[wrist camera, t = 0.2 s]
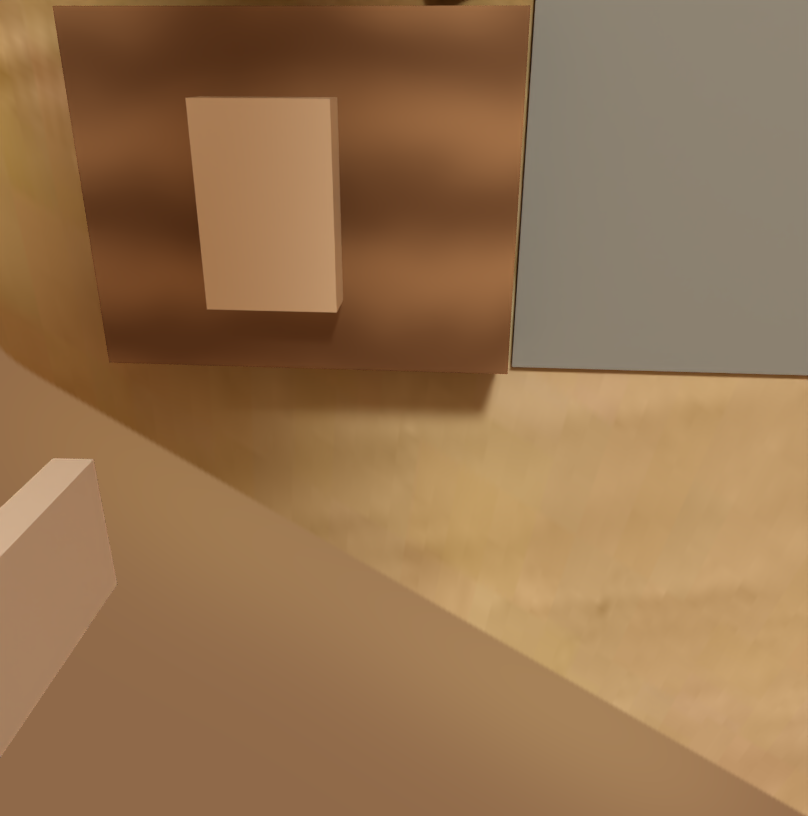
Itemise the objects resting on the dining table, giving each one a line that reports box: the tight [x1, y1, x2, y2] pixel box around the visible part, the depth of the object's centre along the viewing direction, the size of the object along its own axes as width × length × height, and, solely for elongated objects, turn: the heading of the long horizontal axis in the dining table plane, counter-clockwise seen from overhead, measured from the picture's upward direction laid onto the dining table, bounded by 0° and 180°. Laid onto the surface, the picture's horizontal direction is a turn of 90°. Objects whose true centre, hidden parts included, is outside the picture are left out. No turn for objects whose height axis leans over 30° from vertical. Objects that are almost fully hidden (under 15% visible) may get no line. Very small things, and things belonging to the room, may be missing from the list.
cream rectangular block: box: [185, 96, 343, 313], centre depth 34 cm, size 9×6×2 cm, turn 0°
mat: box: [512, 0, 808, 375], centre depth 37 cm, size 18×18×1 cm
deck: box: [53, 6, 530, 374], centre depth 37 cm, size 16×20×4 cm
